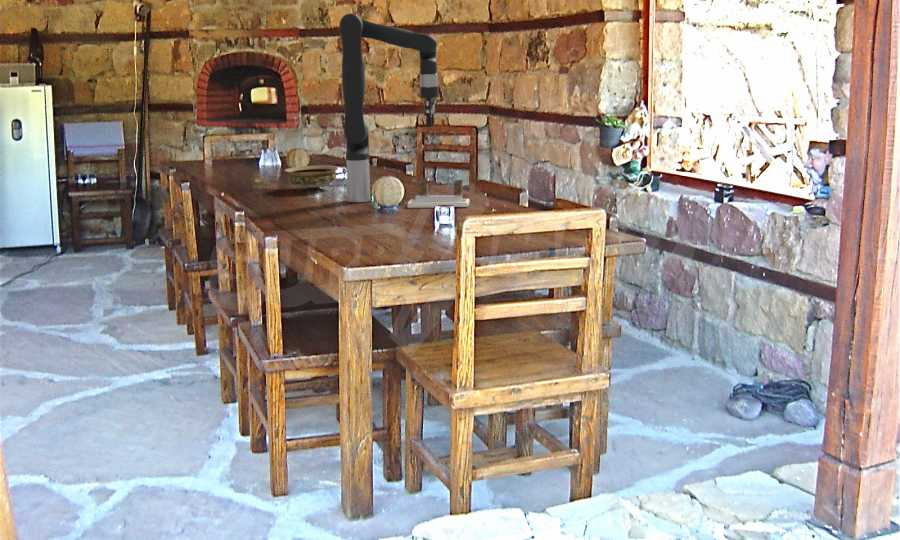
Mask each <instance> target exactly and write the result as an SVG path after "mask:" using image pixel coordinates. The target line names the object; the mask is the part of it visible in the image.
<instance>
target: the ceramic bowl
mask: <svg viewBox="0 0 900 540" xmlns="http://www.w3.org/2000/svg"><path fill="white" fill-rule="evenodd" d="M338 169H339V167H338V166H336V165H329V164H328V165H327V164H326V165H325V164H324V165H322V164H321V165H307V166H306V165H305V166H304V165H303V166H295V167H290V168H285V170H284V172H285V173H287V179H288V182H289V183H291V184H292V185H293V186H295V187H298V188H305V189H304V190H306V191H305V192H316V191H315V190H319V191H322V190H321V189H322V188H321V187H325V186H327V185H330V184H331V183H334V181H335V180H336V178H337V173H336V171H338Z"/></svg>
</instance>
